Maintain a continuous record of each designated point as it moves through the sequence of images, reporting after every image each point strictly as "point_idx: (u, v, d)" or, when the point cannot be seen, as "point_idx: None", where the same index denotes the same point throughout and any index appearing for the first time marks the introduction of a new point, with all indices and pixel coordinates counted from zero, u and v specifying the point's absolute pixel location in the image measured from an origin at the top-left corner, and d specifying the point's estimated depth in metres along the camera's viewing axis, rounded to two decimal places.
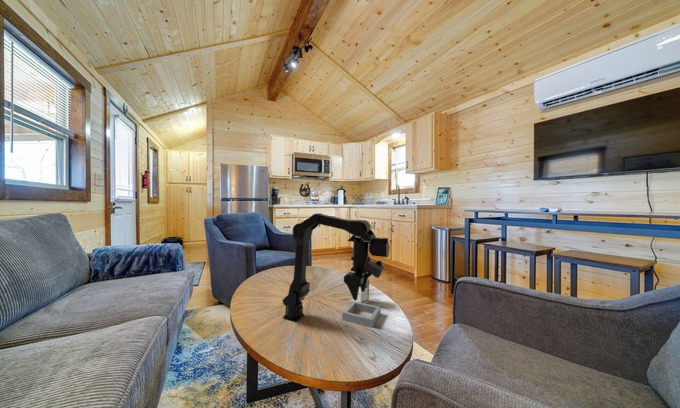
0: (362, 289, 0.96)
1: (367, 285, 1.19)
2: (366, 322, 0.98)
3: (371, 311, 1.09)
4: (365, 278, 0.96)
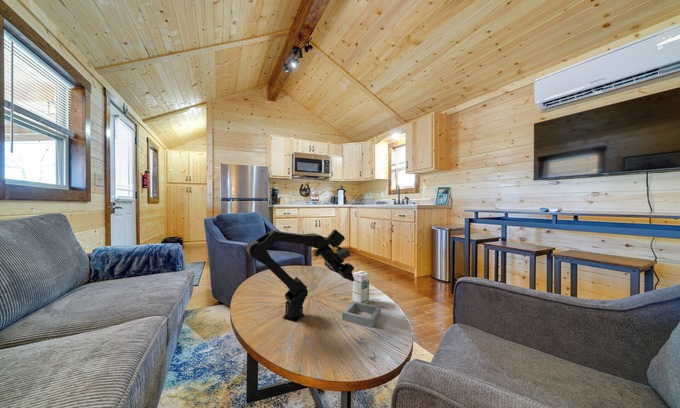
0: None
1: (367, 285, 1.19)
2: (366, 322, 0.98)
3: (371, 311, 1.09)
4: None
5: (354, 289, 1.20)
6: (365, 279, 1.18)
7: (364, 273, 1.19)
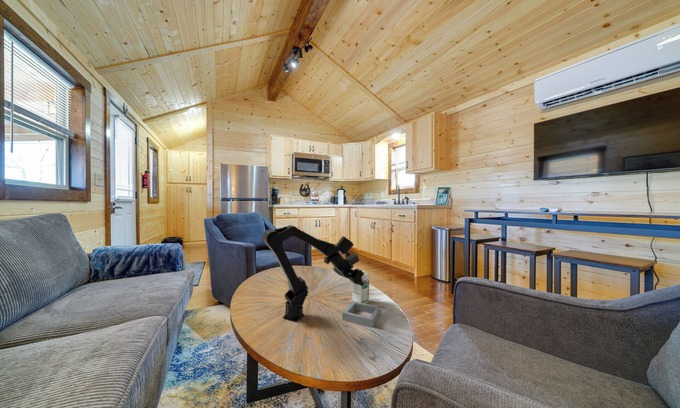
0: None
1: (367, 285, 1.19)
2: (366, 322, 0.98)
3: (371, 311, 1.09)
4: None
5: (354, 289, 1.20)
6: (365, 279, 1.18)
7: (364, 273, 1.19)
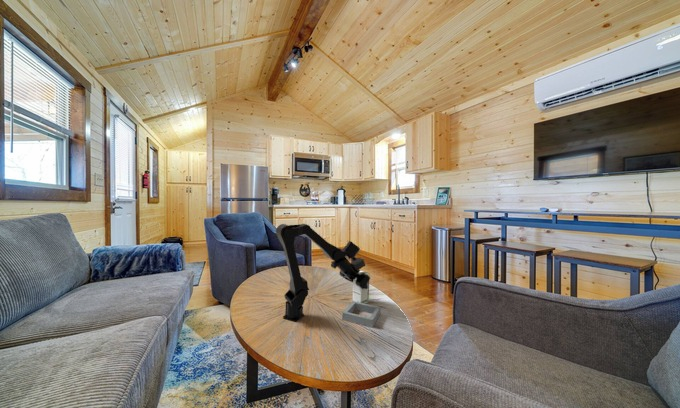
0: None
1: (367, 285, 1.19)
2: (366, 322, 0.98)
3: (371, 311, 1.09)
4: None
5: (354, 289, 1.20)
6: None
7: None
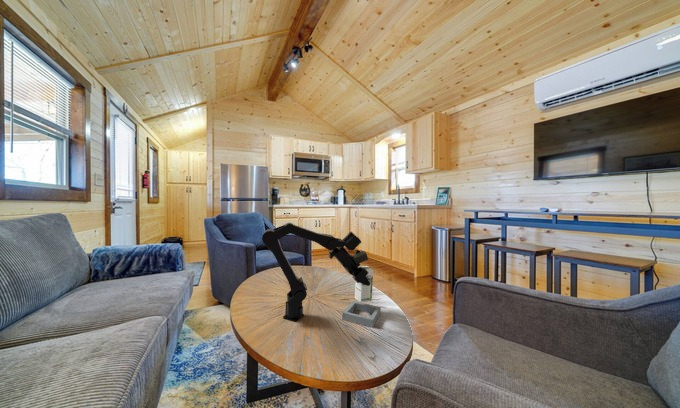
0: None
1: (370, 282, 1.08)
2: (366, 322, 0.98)
3: (371, 311, 1.09)
4: None
5: (356, 285, 1.10)
6: (367, 274, 1.07)
7: (367, 268, 1.08)
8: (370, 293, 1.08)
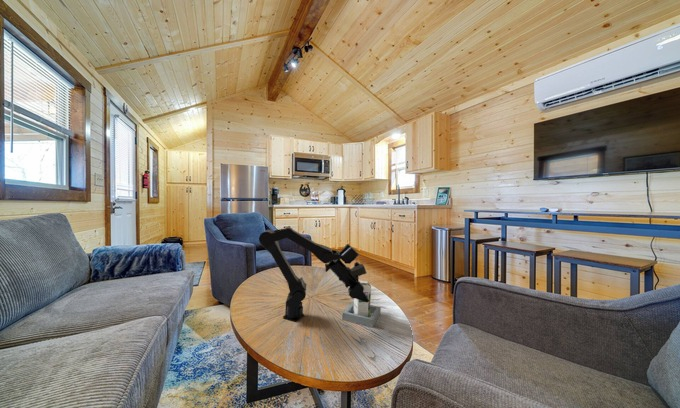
0: None
1: None
2: (366, 322, 0.98)
3: (371, 311, 1.09)
4: None
5: (354, 301, 1.06)
6: (364, 291, 1.02)
7: (364, 284, 1.04)
8: (368, 311, 1.03)
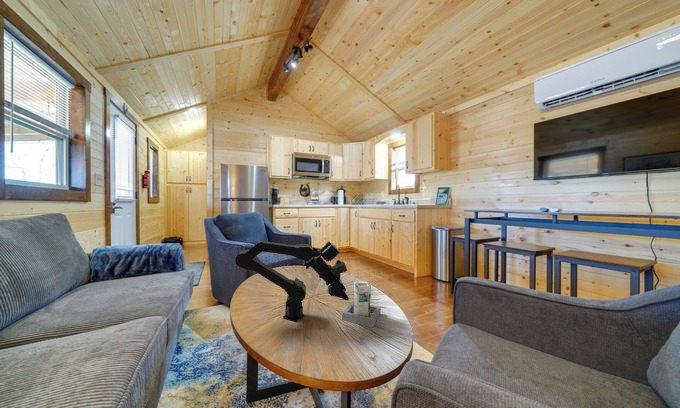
0: (344, 290, 1.09)
1: (367, 299, 1.03)
2: (366, 322, 0.98)
3: (371, 311, 1.09)
4: None
5: (354, 301, 1.06)
6: (364, 291, 1.02)
7: (364, 284, 1.04)
8: (368, 311, 1.03)
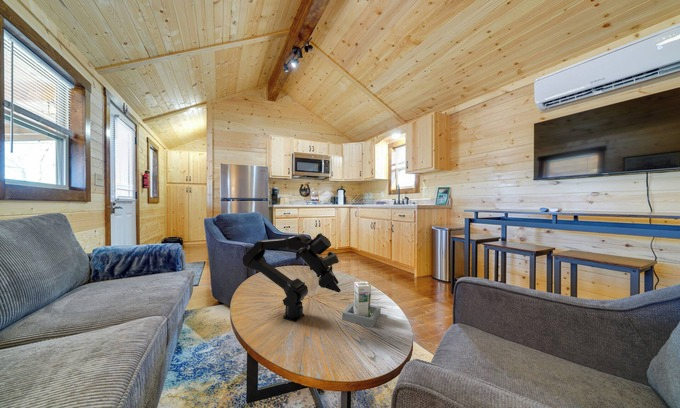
0: (336, 282, 1.06)
1: (367, 299, 1.03)
2: (366, 322, 0.98)
3: (371, 311, 1.09)
4: None
5: (354, 301, 1.06)
6: (364, 291, 1.02)
7: (364, 284, 1.04)
8: (368, 311, 1.03)
